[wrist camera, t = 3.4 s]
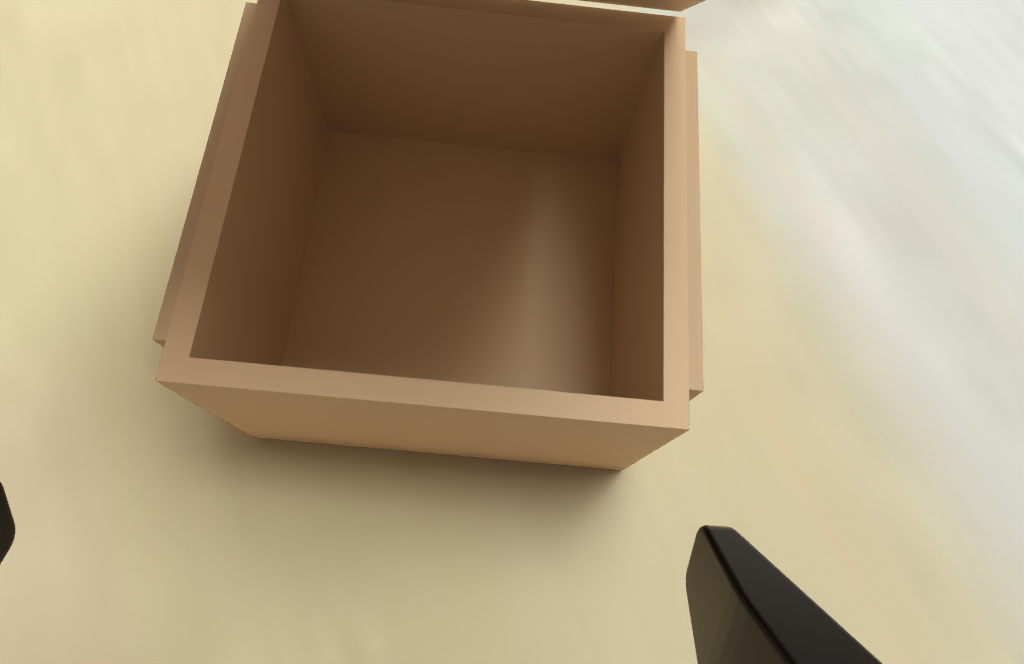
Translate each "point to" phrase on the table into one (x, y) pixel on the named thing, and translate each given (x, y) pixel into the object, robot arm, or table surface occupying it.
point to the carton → (447, 232)
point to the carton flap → (654, 3)
